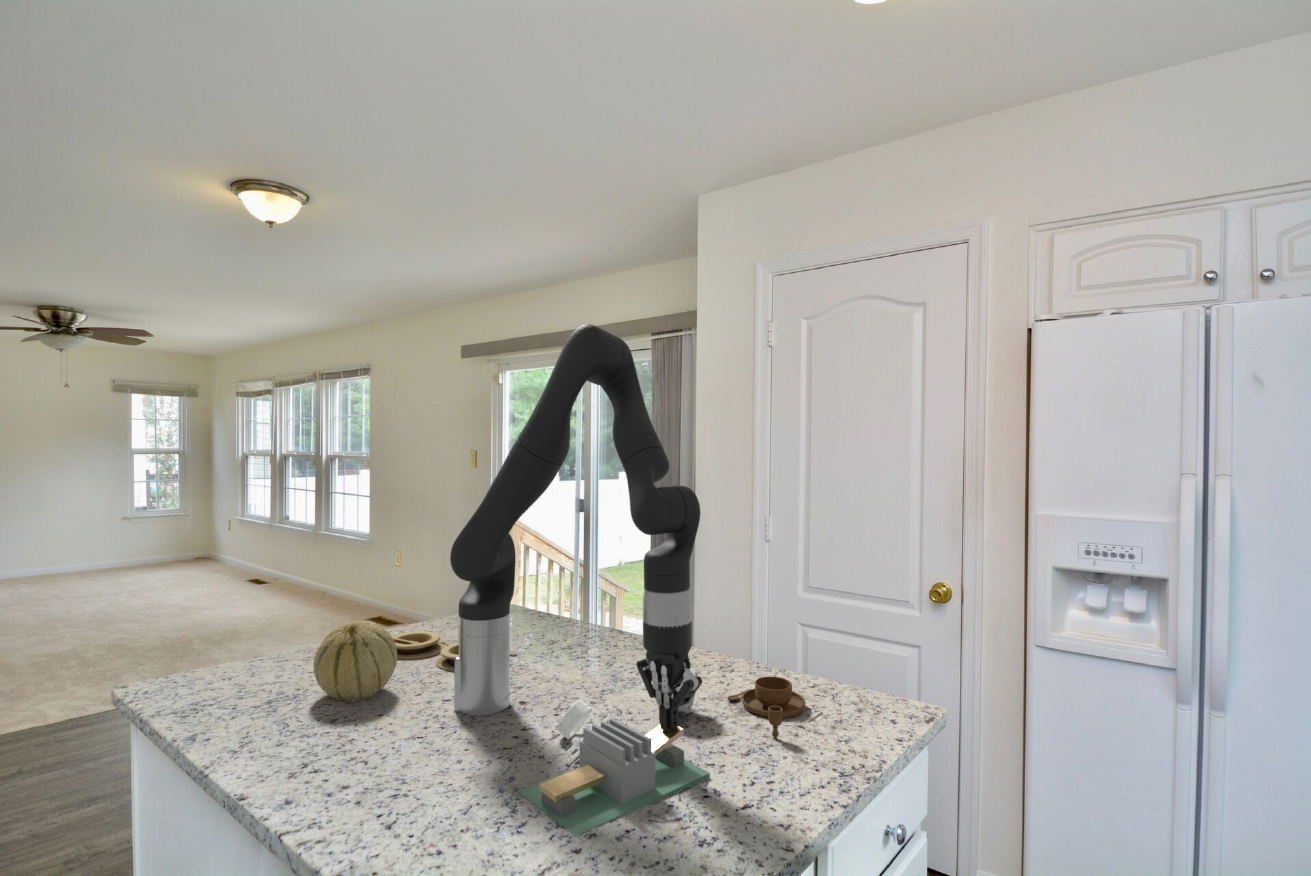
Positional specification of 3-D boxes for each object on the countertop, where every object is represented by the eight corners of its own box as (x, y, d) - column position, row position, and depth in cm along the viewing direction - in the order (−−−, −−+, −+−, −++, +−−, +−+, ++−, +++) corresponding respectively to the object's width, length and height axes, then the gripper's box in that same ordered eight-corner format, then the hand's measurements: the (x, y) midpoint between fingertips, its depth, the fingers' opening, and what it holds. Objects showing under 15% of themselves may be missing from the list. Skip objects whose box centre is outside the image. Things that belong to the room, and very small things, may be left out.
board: (575, 847, 86) (575, 780, 86) (518, 801, 96) (518, 741, 96) (709, 782, 102) (710, 725, 102) (647, 748, 112) (648, 697, 112)
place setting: (830, 710, 130) (831, 679, 129) (781, 749, 114) (782, 714, 114) (749, 688, 140) (749, 659, 140) (694, 721, 124) (694, 688, 124)
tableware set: (519, 656, 159) (519, 630, 159) (459, 684, 142) (459, 656, 141) (424, 637, 172) (423, 614, 172) (358, 661, 155) (358, 635, 155)
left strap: (555, 802, 90) (555, 796, 90) (539, 789, 93) (539, 783, 93) (604, 781, 95) (604, 775, 95) (587, 770, 98) (587, 764, 98)
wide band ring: (575, 702, 125) (592, 675, 123) (617, 740, 122) (635, 712, 120) (519, 745, 108) (539, 713, 107) (566, 789, 105) (587, 758, 104)
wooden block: (645, 763, 100) (644, 758, 100) (628, 753, 103) (627, 748, 103) (684, 733, 105) (683, 728, 105) (666, 724, 108) (665, 720, 108)
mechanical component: (671, 701, 131) (680, 651, 130) (693, 707, 130) (703, 657, 129) (660, 724, 121) (670, 669, 121) (685, 730, 120) (695, 675, 120)
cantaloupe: (388, 678, 143) (388, 606, 142) (405, 702, 130) (405, 623, 130) (308, 693, 134) (308, 616, 134) (319, 720, 122) (319, 636, 122)
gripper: (715, 621, 103) (717, 736, 103) (657, 604, 112) (658, 708, 113) (679, 632, 98) (680, 752, 98) (621, 613, 108) (622, 722, 108)
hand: (668, 728), depth 106 cm, fingers closed
